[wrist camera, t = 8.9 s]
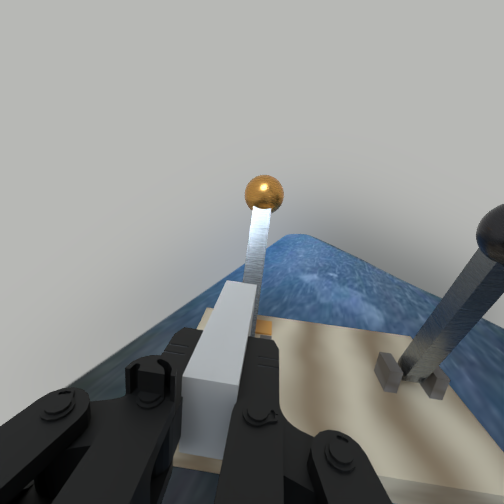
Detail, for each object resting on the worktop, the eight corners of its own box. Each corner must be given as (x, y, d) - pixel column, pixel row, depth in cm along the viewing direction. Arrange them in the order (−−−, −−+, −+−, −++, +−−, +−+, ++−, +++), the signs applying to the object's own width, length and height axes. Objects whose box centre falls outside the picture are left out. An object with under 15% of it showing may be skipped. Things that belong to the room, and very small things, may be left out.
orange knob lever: (263, 355, 25) (284, 186, 27) (263, 364, 21) (287, 170, 24) (223, 349, 25) (248, 182, 28) (218, 358, 22) (246, 165, 24)
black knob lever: (420, 359, 25) (554, 192, 15) (437, 400, 22) (617, 227, 12) (379, 353, 25) (485, 184, 15) (391, 393, 22) (531, 217, 12)
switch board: (404, 351, 31) (415, 320, 30) (529, 525, 16) (559, 477, 15) (205, 322, 32) (208, 292, 31) (144, 461, 17) (143, 410, 16)
